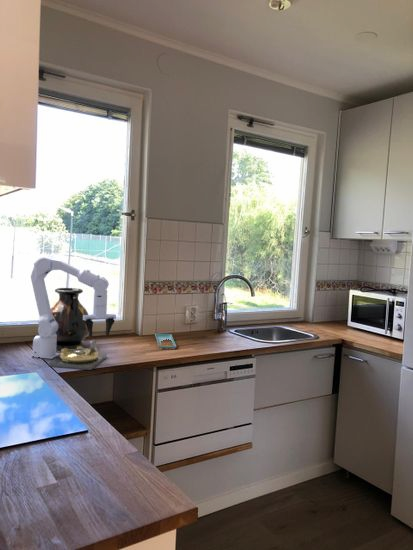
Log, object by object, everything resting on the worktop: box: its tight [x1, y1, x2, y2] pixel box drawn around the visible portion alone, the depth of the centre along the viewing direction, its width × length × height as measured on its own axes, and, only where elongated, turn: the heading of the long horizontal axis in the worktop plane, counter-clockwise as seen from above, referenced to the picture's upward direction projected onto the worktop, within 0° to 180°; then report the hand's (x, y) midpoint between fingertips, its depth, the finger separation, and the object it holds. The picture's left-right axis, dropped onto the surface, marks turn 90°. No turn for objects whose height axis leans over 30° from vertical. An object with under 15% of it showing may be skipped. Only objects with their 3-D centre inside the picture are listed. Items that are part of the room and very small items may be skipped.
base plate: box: [48, 352, 108, 371], centre depth 192 cm, size 18×20×2 cm
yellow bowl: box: [59, 339, 99, 363], centre depth 192 cm, size 16×16×7 cm
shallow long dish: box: [154, 333, 177, 349], centre depth 235 cm, size 26×9×2 cm, turn 11°
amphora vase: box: [50, 287, 90, 351], centre depth 215 cm, size 22×22×28 cm
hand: (98, 335), depth 198 cm, fingers open, 7 cm apart
